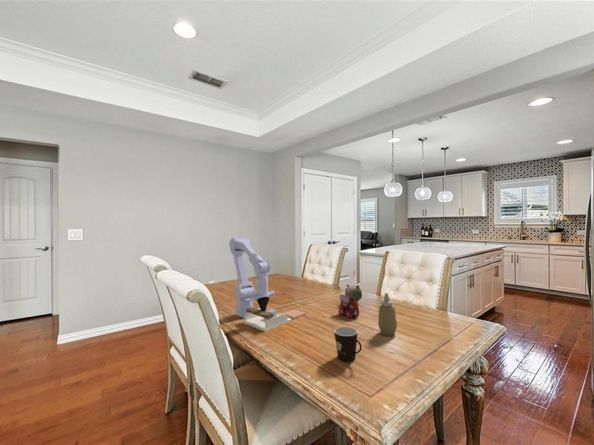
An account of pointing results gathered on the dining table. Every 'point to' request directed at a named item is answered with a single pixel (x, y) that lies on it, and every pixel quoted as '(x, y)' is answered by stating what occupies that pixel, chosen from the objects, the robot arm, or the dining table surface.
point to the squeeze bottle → (387, 317)
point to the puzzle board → (265, 321)
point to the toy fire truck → (348, 306)
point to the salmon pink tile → (295, 314)
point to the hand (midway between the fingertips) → (263, 311)
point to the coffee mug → (346, 343)
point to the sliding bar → (259, 313)
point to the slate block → (272, 312)
